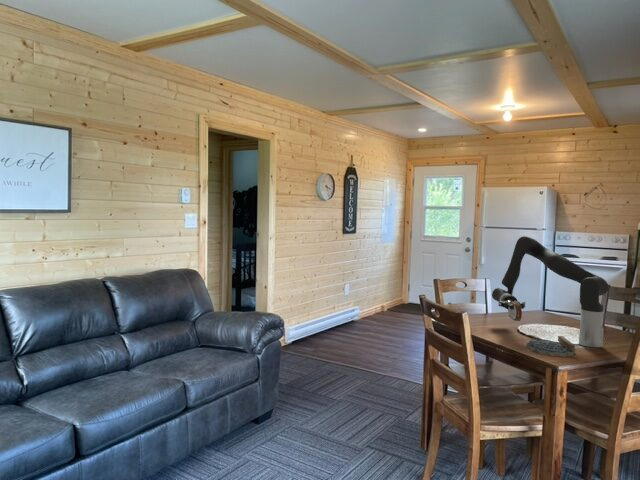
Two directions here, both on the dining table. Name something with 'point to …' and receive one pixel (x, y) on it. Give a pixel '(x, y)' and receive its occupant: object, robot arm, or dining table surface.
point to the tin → (515, 311)
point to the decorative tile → (549, 348)
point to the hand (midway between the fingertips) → (516, 307)
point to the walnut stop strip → (566, 343)
